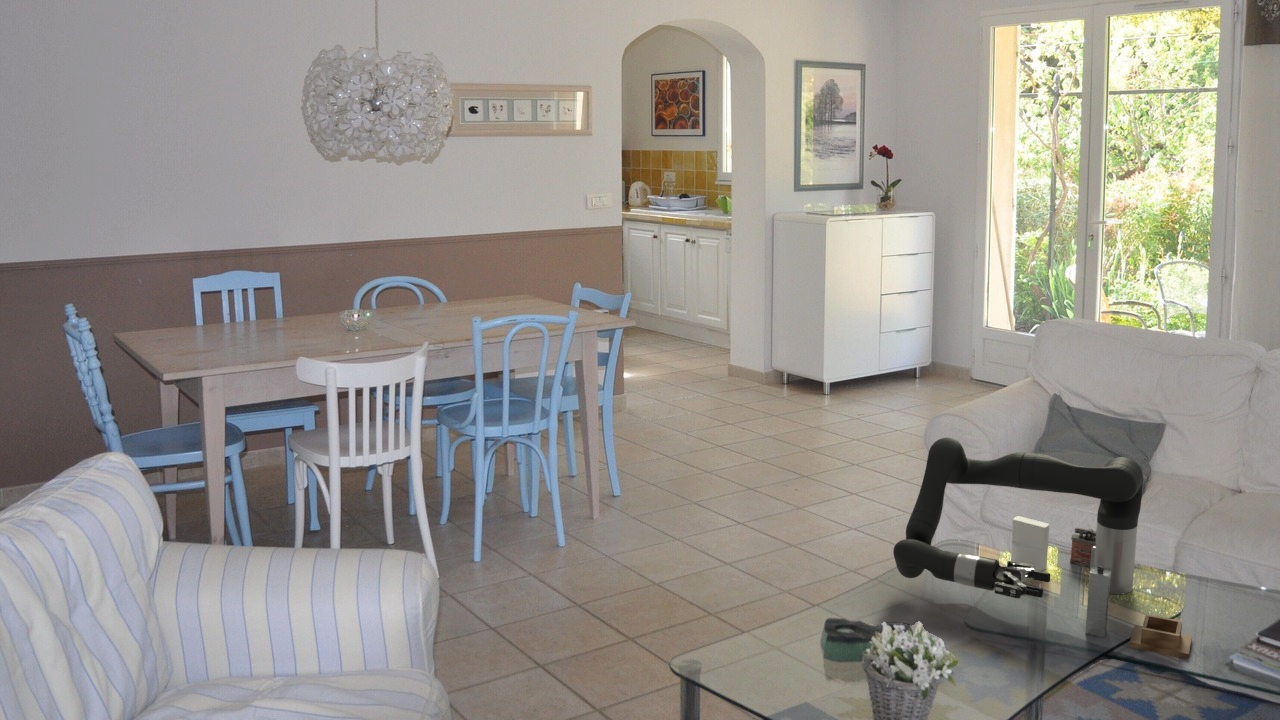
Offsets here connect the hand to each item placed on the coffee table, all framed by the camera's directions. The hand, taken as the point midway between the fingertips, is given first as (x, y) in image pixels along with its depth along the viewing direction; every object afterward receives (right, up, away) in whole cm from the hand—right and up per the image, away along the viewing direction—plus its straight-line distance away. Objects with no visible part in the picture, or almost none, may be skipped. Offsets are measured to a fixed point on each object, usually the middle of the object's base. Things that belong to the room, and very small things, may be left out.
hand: (1046, 585), depth 262 cm
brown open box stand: (+22, -11, -9) cm, 27 cm away
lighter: (+21, -1, +30) cm, 37 cm away
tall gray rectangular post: (+10, -10, -3) cm, 15 cm away
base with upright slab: (+7, -1, +32) cm, 33 cm away
